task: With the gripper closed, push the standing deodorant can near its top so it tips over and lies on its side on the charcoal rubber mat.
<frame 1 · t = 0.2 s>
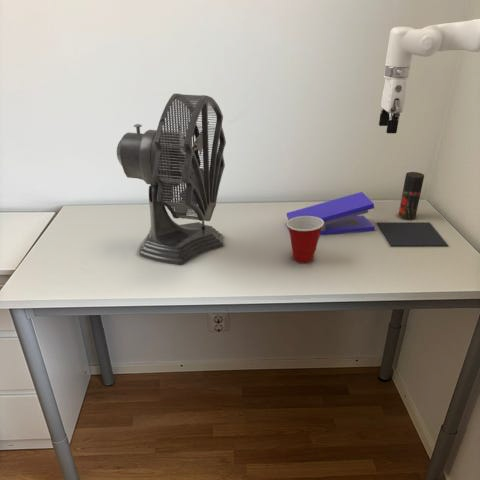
hand: (387, 129, 169), 29 cm above the table, tool pointing down, fingers open, 9 cm apart
stapler: (329, 227, 174), on the table
desk fan: (174, 249, 159), on the table
mat: (410, 234, 169), on the table
plastic cup: (302, 259, 154), on the table
deodorant: (406, 217, 182), on the table
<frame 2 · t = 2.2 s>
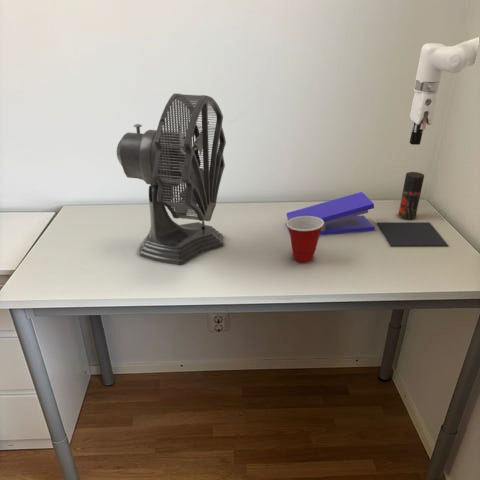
hand: (414, 143, 177), 23 cm above the table, tool pointing down, fingers closed
nothing on the table moved.
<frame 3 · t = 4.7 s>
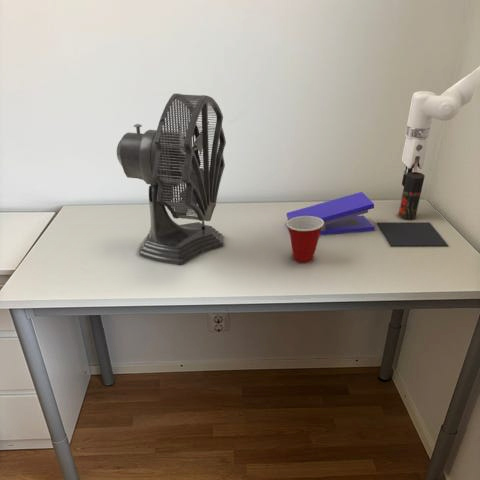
hand: (406, 185, 181), 9 cm above the table, tool pointing down, fingers closed
nothing on the table moved.
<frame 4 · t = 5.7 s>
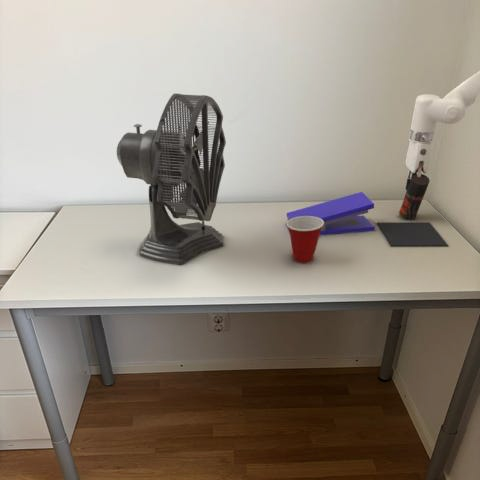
hand: (410, 190, 178), 9 cm above the table, tool pointing down, fingers closed
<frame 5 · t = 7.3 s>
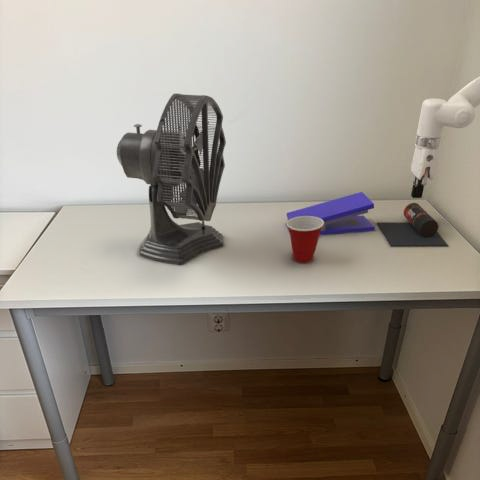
hand: (416, 197, 172), 9 cm above the table, tool pointing down, fingers closed
deodorant: (411, 210, 177), point 3 cm above the table, touching mat
everything else where it was.
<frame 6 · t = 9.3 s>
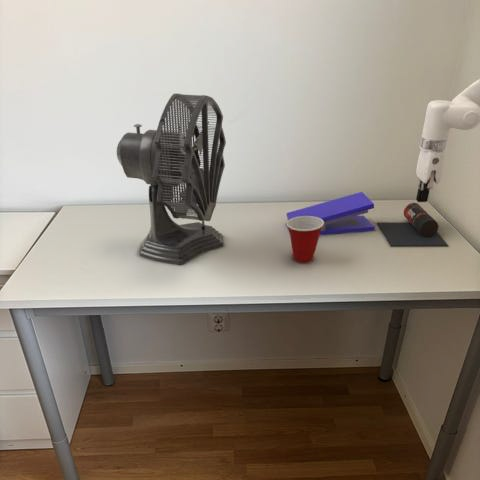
hand: (421, 201, 168), 9 cm above the table, tool pointing down, fingers closed
nothing on the table moved.
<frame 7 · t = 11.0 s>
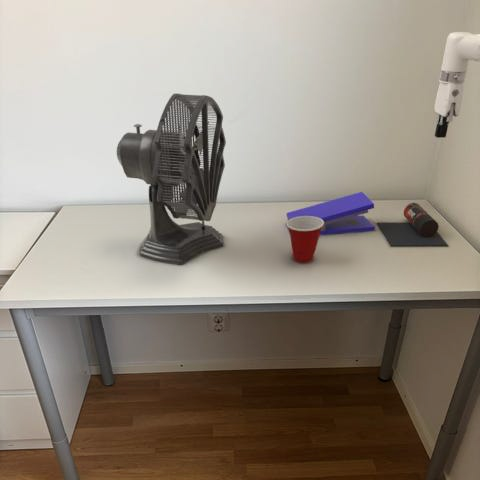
hand: (440, 136, 172), 26 cm above the table, tool pointing down, fingers closed
nothing on the table moved.
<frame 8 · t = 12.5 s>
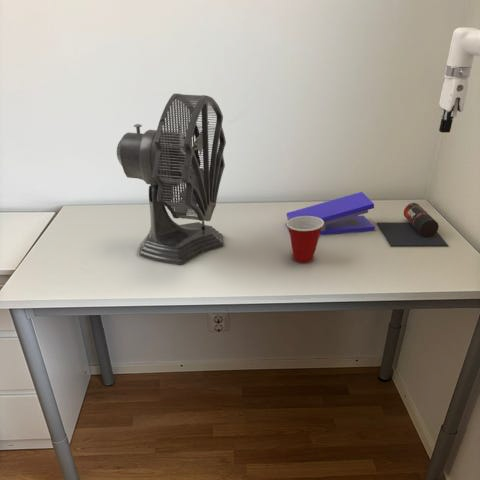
hand: (444, 131, 173), 27 cm above the table, tool pointing down, fingers closed
nothing on the table moved.
at the end: deodorant tilted 90°; deodorant touching mat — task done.
